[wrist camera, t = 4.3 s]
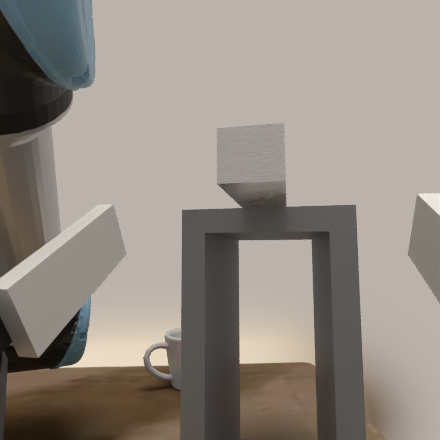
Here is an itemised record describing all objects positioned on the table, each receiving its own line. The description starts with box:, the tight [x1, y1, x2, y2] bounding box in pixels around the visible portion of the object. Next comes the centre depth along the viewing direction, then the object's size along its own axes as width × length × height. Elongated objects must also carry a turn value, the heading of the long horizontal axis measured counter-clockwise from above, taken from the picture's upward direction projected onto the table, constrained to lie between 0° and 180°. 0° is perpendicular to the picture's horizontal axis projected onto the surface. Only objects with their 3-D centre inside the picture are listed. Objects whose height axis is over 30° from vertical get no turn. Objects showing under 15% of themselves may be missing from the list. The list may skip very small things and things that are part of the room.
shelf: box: [180, 205, 366, 440], centre depth 34 cm, size 19×14×30 cm
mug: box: [143, 328, 181, 390], centre depth 64 cm, size 10×15×10 cm
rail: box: [217, 123, 286, 208], centre depth 29 cm, size 26×4×3 cm, turn 168°
